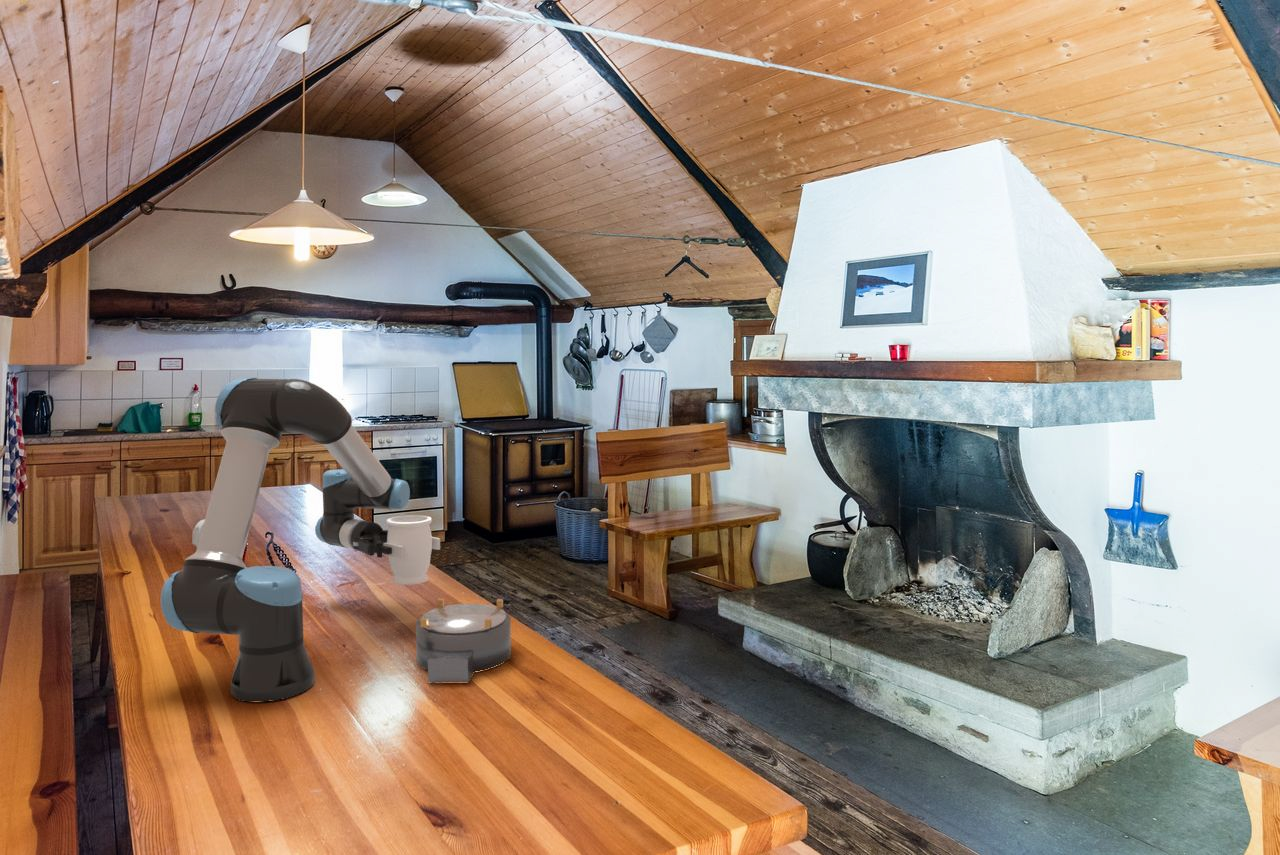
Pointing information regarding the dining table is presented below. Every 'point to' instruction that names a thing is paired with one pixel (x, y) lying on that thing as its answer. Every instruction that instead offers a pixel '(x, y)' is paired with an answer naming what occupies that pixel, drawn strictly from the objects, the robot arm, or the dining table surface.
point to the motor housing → (462, 640)
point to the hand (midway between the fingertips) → (421, 548)
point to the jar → (410, 548)
